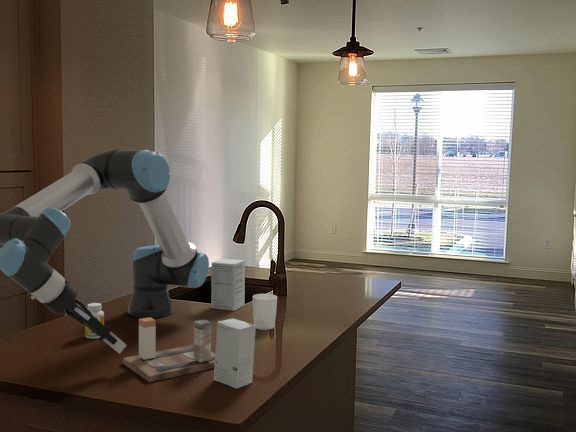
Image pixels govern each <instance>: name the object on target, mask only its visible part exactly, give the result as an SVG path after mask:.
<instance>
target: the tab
mask: <svg viewBox="0 0 576 432" xmlns="http://www.w3.org/2000/svg"><path fill="white" fill-rule="evenodd" d="M156 322H157V321H156V318H155V319H154V318H151V317H149V318H138V355H139V357H141V358H142V359H144V360H145V359H150V358H155V352H157V351H156V349H157V348H156V347H157V346H156V343H157V342H156V341H157V340H156V339H157V338H156V333H157V331H156V329H157V325H156V324H157V323H156Z"/></svg>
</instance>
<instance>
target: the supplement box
mask: <svg viewBox="0 0 576 432" xmlns="http://www.w3.org/2000/svg"><path fill="white" fill-rule="evenodd" d="M245 262H246V261H245V259H232V258H231V259H230V258H220V259H218V260H215V261H211V282H210V283H211V284H210V285H211V286H210V287H211V289H210V290H211V291H210V292H211V296H210V297H211V298H210V299H211V300H210V301H211V303H210V304H211V307H210V308H211V309H212V310H213V309H215V310H222V309H223V310H224V311H231V312H232V311H234V312H235V311H237V310H238V309H240V308H242V307H244V306H245V299H246V298H245V294H246V293H245V292H246V291H245V290H246V289H245V282H246V281H245V280H246V279H245V277H246V276H245V275H246V274H245V269H246V267H245V266H246V263H245Z"/></svg>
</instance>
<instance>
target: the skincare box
mask: <svg viewBox="0 0 576 432" xmlns="http://www.w3.org/2000/svg"><path fill="white" fill-rule="evenodd" d="M215 336H216V337H215V352H214V353H215V366H214V368H213V381H215V382H217V383H218V382H219V383H220V384H223V385H226V386H229V387H231V388H234V389H239V388H242V387H244V386H248V385H250V383H251V384H252V383H253V376H254V359H255V344H256V343H255V342H256V326H255V325H254V324H252V323H249V322H246V321H244V320H240V319H236V318H233V317H232V318H229V319H225V320H218V321H217V323H216V335H215Z"/></svg>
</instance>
